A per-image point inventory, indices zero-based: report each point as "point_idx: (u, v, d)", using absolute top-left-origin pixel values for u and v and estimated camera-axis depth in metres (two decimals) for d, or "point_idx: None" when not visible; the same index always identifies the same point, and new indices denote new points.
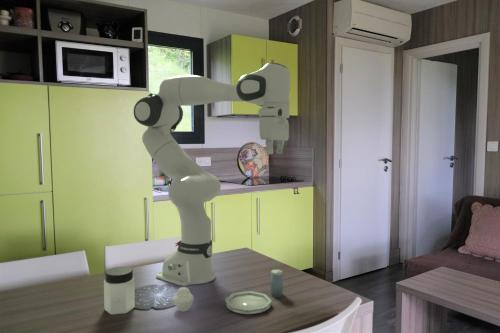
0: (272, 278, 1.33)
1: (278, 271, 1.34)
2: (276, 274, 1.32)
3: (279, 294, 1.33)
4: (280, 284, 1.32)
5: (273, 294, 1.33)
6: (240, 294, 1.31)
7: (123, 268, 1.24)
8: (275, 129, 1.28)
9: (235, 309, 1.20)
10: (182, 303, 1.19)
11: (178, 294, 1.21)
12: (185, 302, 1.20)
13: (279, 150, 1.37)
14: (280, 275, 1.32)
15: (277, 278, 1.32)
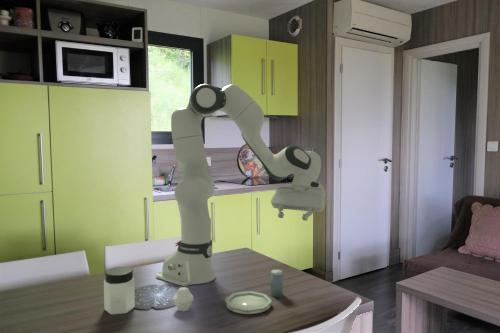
0: (272, 278, 1.33)
1: (278, 271, 1.34)
2: (276, 274, 1.32)
3: (279, 294, 1.33)
4: (280, 284, 1.32)
5: (273, 294, 1.33)
6: (240, 294, 1.31)
7: (123, 268, 1.24)
8: None
9: (235, 309, 1.20)
10: (182, 303, 1.19)
11: (178, 294, 1.21)
12: (185, 302, 1.20)
13: (283, 215, 1.46)
14: (280, 275, 1.32)
15: (277, 278, 1.32)
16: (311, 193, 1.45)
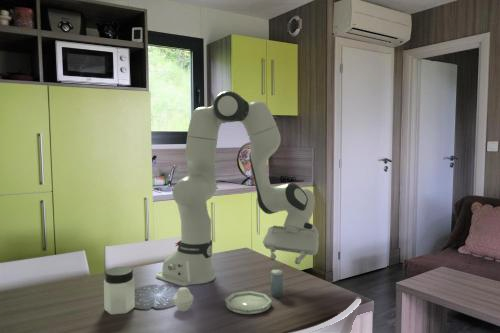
0: (272, 278, 1.33)
1: (278, 271, 1.34)
2: (276, 274, 1.32)
3: (279, 294, 1.33)
4: (280, 284, 1.32)
5: (273, 294, 1.33)
6: (240, 294, 1.31)
7: (123, 268, 1.24)
8: None
9: (235, 309, 1.20)
10: (182, 303, 1.19)
11: (178, 294, 1.21)
12: (185, 302, 1.20)
13: (275, 257, 1.42)
14: (280, 275, 1.32)
15: (277, 278, 1.32)
16: (304, 235, 1.41)
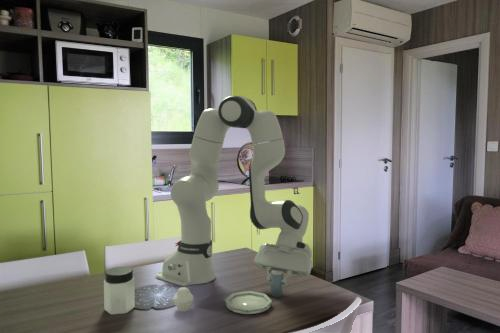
0: (272, 278, 1.33)
1: (278, 271, 1.34)
2: (276, 274, 1.32)
3: (279, 294, 1.33)
4: (280, 284, 1.32)
5: (273, 294, 1.33)
6: (240, 294, 1.31)
7: (123, 268, 1.24)
8: None
9: (235, 309, 1.20)
10: (182, 303, 1.19)
11: (178, 294, 1.21)
12: (185, 302, 1.20)
13: None
14: (280, 275, 1.32)
15: (277, 278, 1.32)
16: (297, 255, 1.36)
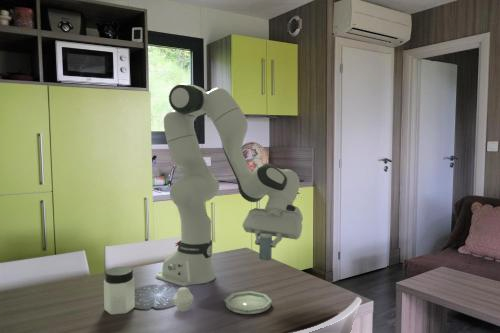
0: (261, 241, 1.28)
1: (267, 234, 1.29)
2: (265, 236, 1.28)
3: (268, 257, 1.28)
4: (269, 247, 1.28)
5: (261, 257, 1.28)
6: (240, 294, 1.31)
7: (123, 268, 1.24)
8: None
9: (235, 309, 1.20)
10: (182, 303, 1.19)
11: (178, 294, 1.21)
12: (185, 302, 1.20)
13: None
14: (269, 237, 1.28)
15: (266, 241, 1.28)
16: (287, 217, 1.31)
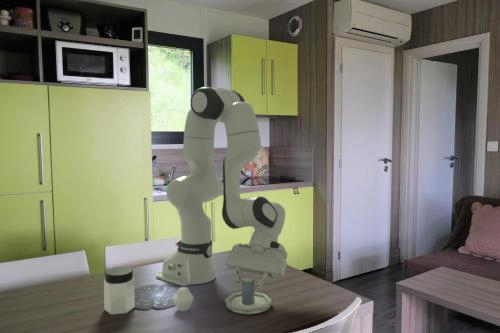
0: (243, 285, 1.24)
1: (249, 277, 1.25)
2: (247, 281, 1.23)
3: (250, 302, 1.24)
4: (251, 291, 1.24)
5: (244, 302, 1.24)
6: (240, 294, 1.31)
7: (123, 268, 1.24)
8: None
9: (235, 309, 1.20)
10: (182, 303, 1.19)
11: (178, 294, 1.21)
12: (185, 302, 1.20)
13: (239, 279, 1.27)
14: (251, 282, 1.23)
15: (248, 285, 1.23)
16: (270, 255, 1.27)
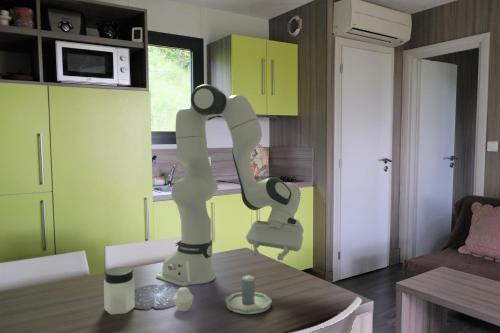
0: (243, 285, 1.24)
1: (249, 277, 1.25)
2: (247, 280, 1.23)
3: (250, 302, 1.24)
4: (251, 291, 1.24)
5: (244, 302, 1.24)
6: (240, 294, 1.31)
7: (123, 268, 1.24)
8: None
9: (235, 309, 1.20)
10: (182, 303, 1.19)
11: (178, 294, 1.21)
12: (185, 302, 1.20)
13: (258, 252, 1.38)
14: (251, 282, 1.23)
15: (248, 285, 1.23)
16: (288, 230, 1.38)
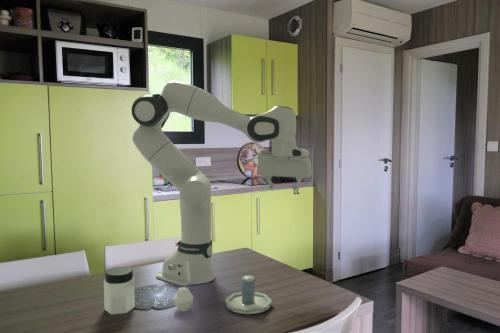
0: (243, 285, 1.24)
1: (249, 277, 1.25)
2: (247, 280, 1.23)
3: (250, 302, 1.24)
4: (251, 291, 1.24)
5: (244, 302, 1.24)
6: (240, 294, 1.31)
7: (123, 268, 1.24)
8: None
9: (235, 309, 1.20)
10: (182, 303, 1.19)
11: (178, 294, 1.21)
12: (185, 302, 1.20)
13: (273, 184, 1.48)
14: (251, 282, 1.23)
15: (248, 285, 1.23)
16: (295, 161, 1.41)
